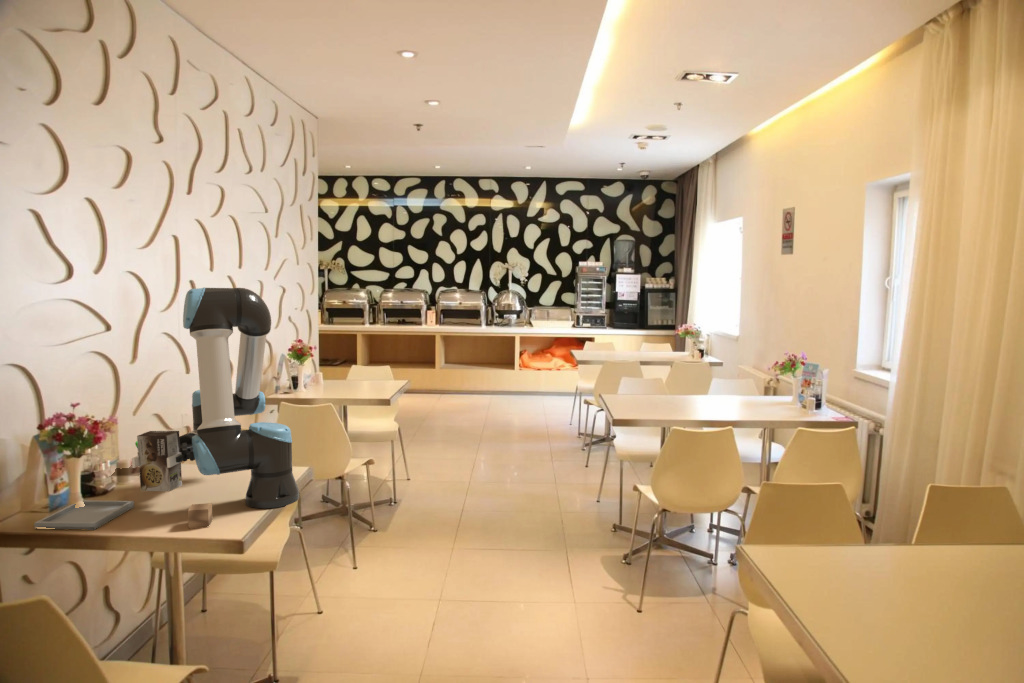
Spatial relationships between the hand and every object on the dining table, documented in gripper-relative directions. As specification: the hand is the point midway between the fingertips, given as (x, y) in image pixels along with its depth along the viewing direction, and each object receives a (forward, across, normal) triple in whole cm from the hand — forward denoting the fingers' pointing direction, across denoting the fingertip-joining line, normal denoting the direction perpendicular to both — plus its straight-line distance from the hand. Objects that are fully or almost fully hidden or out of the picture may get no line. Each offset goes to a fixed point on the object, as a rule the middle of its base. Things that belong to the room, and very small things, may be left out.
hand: (150, 462), depth 186 cm
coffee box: (-5, 0, -9) cm, 10 cm away
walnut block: (+6, -16, -16) cm, 23 cm away
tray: (+2, +18, -15) cm, 23 cm away
